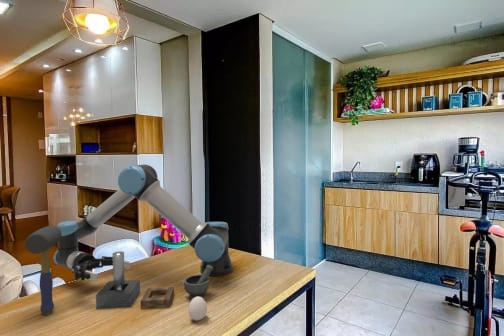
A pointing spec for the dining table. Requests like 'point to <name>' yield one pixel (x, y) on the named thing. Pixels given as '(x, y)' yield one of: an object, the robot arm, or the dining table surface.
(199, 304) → the egg
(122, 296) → the socket
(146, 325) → the dining table surface
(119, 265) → the brushed metal peg
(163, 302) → the wooden square tray
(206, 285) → the mortar and pestle
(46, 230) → the rubber mallet
